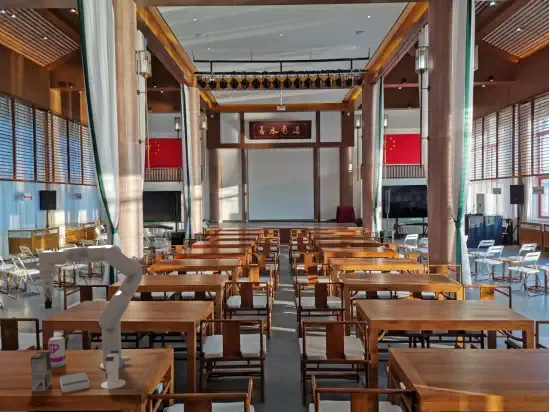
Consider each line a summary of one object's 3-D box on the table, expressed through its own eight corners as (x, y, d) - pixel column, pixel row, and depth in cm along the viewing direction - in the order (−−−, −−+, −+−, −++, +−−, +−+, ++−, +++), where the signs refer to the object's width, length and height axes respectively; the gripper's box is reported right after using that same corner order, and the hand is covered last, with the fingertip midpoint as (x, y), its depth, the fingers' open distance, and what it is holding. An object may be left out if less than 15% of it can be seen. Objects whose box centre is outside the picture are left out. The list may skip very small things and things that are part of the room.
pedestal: (86, 379, 252) (85, 371, 252) (89, 387, 241) (88, 379, 241) (60, 384, 246) (59, 376, 246) (62, 392, 236) (61, 384, 236)
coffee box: (38, 384, 247) (37, 351, 247) (52, 383, 248) (51, 351, 247) (31, 391, 238) (30, 357, 238) (45, 390, 239) (44, 357, 238)
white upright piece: (104, 380, 250) (103, 350, 250) (128, 378, 251) (126, 349, 251) (98, 389, 238) (96, 358, 238) (122, 388, 239) (121, 356, 239)
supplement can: (59, 368, 270) (58, 340, 270) (46, 367, 272) (44, 340, 271) (68, 363, 278) (67, 336, 278) (55, 362, 280) (54, 335, 279)
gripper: (55, 276, 257) (56, 309, 258) (55, 271, 273) (56, 302, 274) (38, 277, 254) (40, 311, 255) (40, 272, 270) (41, 304, 271)
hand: (48, 306), depth 264 cm, fingers open, 9 cm apart
